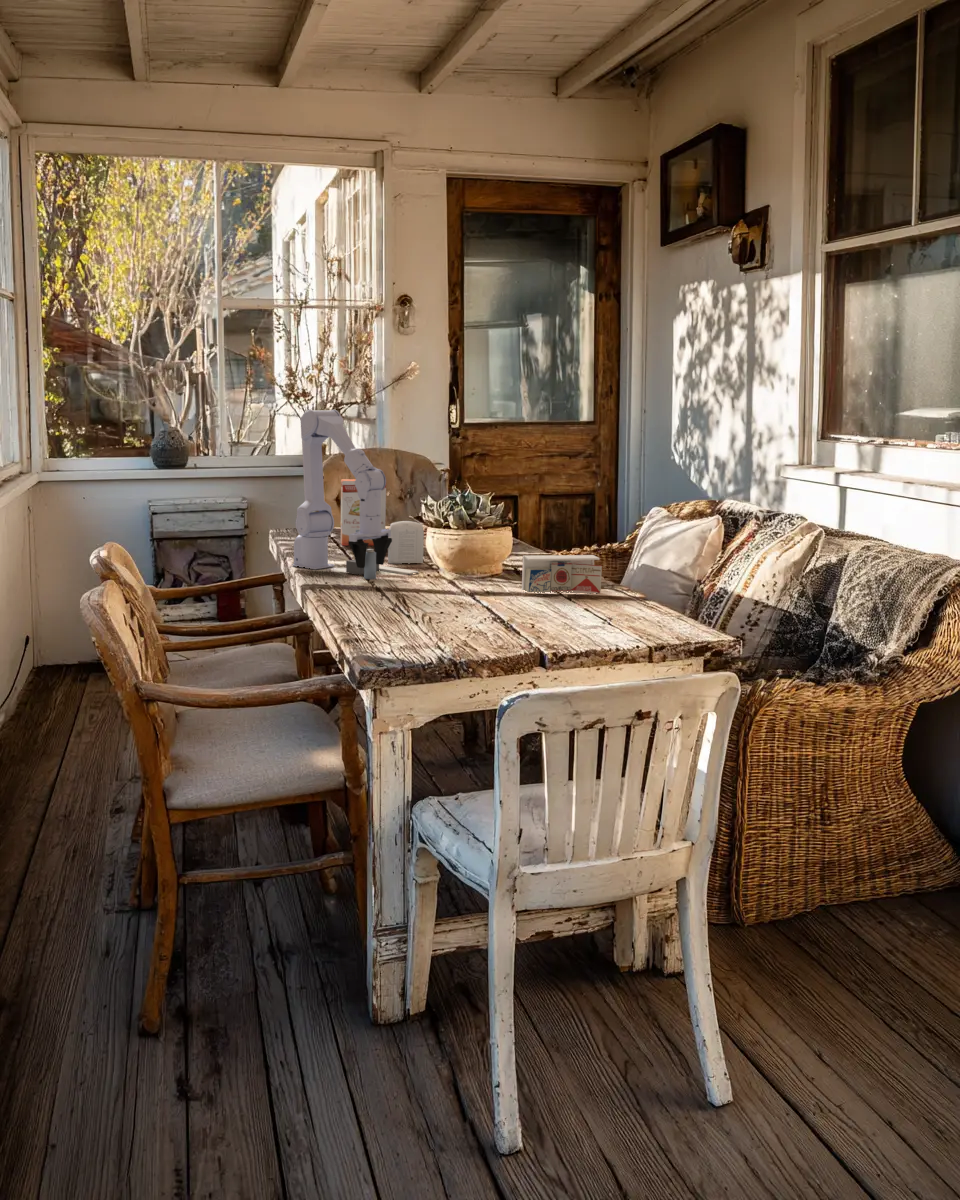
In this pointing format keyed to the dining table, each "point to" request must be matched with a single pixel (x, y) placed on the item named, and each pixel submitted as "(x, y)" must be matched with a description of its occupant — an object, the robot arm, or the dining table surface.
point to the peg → (370, 564)
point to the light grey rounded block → (406, 543)
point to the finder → (353, 568)
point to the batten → (396, 570)
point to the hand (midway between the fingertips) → (370, 565)
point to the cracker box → (355, 511)
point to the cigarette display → (561, 574)
